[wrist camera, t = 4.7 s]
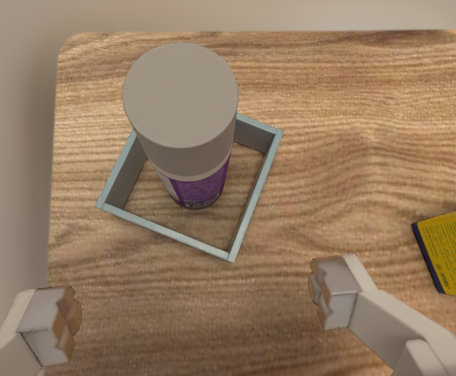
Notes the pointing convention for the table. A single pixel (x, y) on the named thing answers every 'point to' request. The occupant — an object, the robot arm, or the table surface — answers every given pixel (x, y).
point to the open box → (115, 200)
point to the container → (184, 118)
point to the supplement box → (439, 249)
